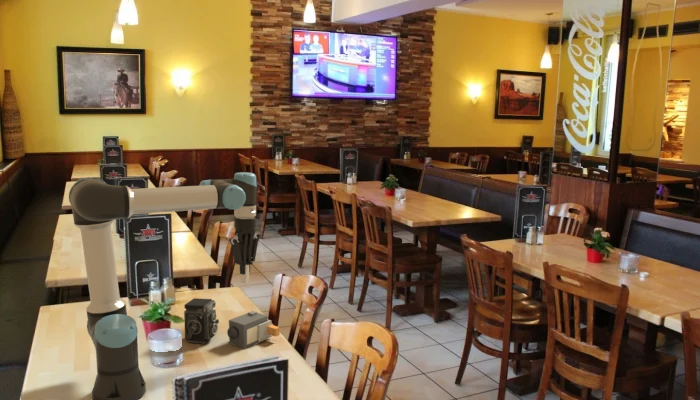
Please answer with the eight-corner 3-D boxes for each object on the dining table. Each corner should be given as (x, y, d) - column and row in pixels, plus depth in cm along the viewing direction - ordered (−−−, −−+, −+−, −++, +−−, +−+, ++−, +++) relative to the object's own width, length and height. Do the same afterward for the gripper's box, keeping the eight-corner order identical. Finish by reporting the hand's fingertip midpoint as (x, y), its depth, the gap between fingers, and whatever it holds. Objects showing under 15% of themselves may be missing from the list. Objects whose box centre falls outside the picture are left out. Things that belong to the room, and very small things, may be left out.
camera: (210, 346, 216) (209, 307, 213) (183, 344, 218) (182, 305, 215) (221, 336, 226) (221, 298, 223) (196, 333, 228) (195, 296, 226)
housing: (241, 350, 213) (241, 324, 212) (226, 344, 218) (225, 319, 216) (268, 338, 224) (267, 313, 222) (252, 333, 229) (252, 309, 227)
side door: (267, 344, 216) (267, 328, 215) (257, 341, 219) (257, 325, 218) (279, 339, 222) (279, 322, 221) (270, 336, 224) (269, 320, 223)
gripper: (239, 220, 199) (238, 288, 203) (266, 215, 210) (265, 280, 214) (223, 217, 204) (223, 284, 207) (251, 213, 214) (250, 276, 218)
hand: (245, 282), depth 210 cm, fingers closed
